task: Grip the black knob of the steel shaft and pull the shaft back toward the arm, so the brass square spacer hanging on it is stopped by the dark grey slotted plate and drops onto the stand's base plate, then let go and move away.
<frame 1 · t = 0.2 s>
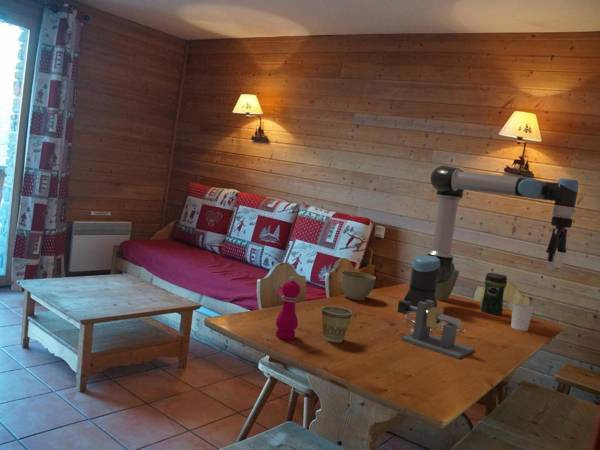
hand: (553, 268, 216), 28 cm above the table, tool pointing down, fingers open, 13 cm apart
plant pot: (439, 299, 265), on the table
coffee jar: (490, 312, 249), on the table
spacer: (433, 325, 186), point 6 cm above the table, touching shaft
white cup: (519, 329, 224), on the table
ceramic cup: (336, 339, 178), on the table
shaft stand: (430, 343, 186), on the table
pepper mill: (285, 336, 173), on the table
shaft: (429, 314, 187), point 10 cm above the table, slide at 0.0 cm, touching spacer
planter bowl: (355, 298, 243), on the table
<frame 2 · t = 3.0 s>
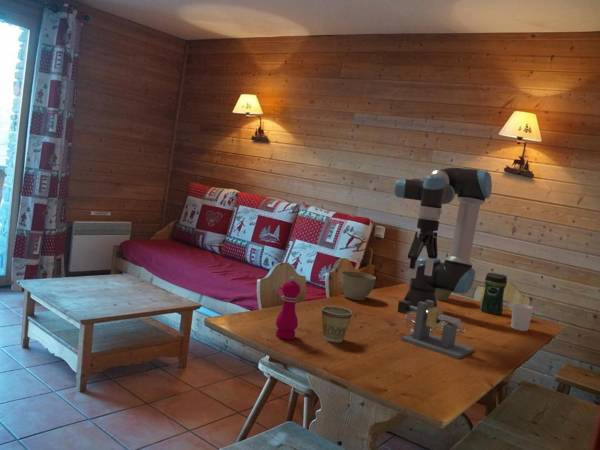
hand: (419, 276, 193), 22 cm above the table, tool pointing down, fingers open, 13 cm apart
nothing on the table moved.
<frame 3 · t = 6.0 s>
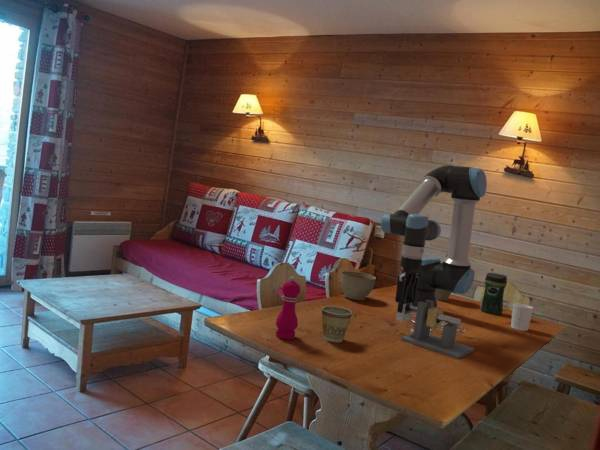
hand: (402, 319, 193), 5 cm above the table, tool pointing down, fingers closed on shaft, 4 cm apart
shaft: (429, 314, 187), point 10 cm above the table, slide at 0.0 cm, touching gripper, spacer
everything else where it was.
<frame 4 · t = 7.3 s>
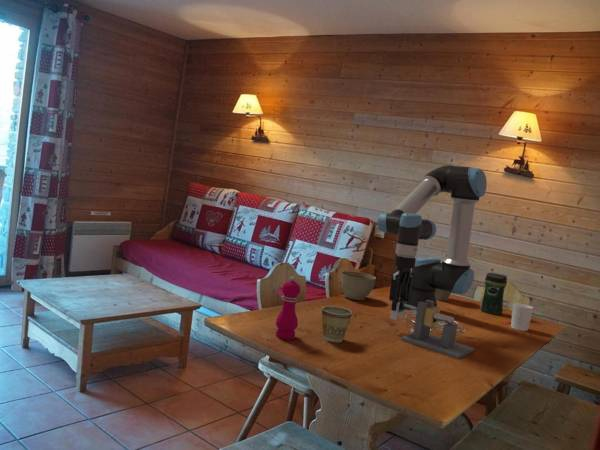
hand: (396, 318, 195), 5 cm above the table, tool pointing down, fingers closed on shaft, 4 cm apart
spacer: (430, 324, 187), point 7 cm above the table
shaft: (422, 312, 188), point 10 cm above the table, slide at 2.5 cm, touching gripper
everything else where it was.
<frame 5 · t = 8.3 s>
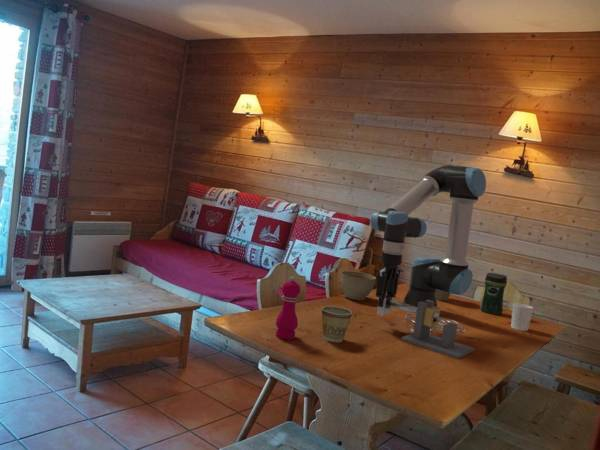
hand: (383, 314, 198), 5 cm above the table, tool pointing down, fingers closed on shaft, 4 cm apart
spacer: (430, 324, 187), point 7 cm above the table, touching shaft, shaft stand
shaft: (408, 308, 192), point 10 cm above the table, slide at 8.0 cm, touching gripper, spacer
everything else where it was.
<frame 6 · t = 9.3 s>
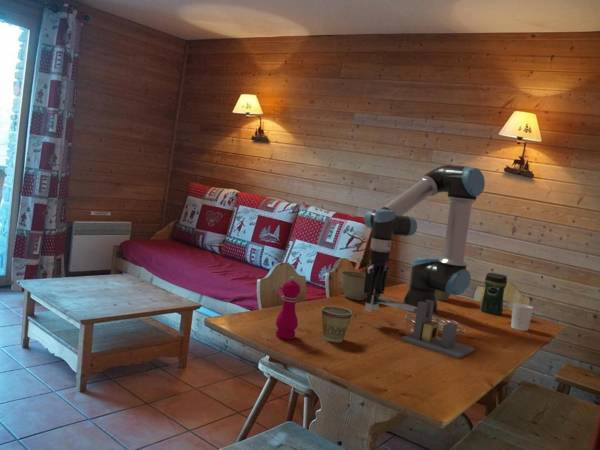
hand: (371, 310, 202), 5 cm above the table, tool pointing down, fingers closed on shaft, 4 cm apart
spacer: (429, 339, 187), point 1 cm above the table, touching shaft stand
shaft: (396, 304, 195), point 10 cm above the table, slide at 13.2 cm, touching gripper
everything else where it was.
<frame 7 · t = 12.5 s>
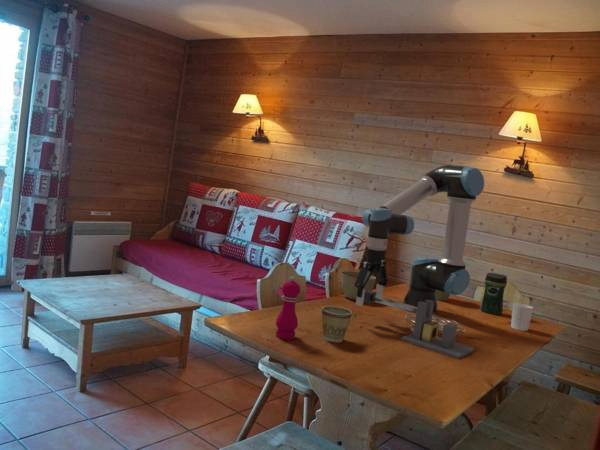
hand: (368, 303, 202), 7 cm above the table, tool pointing down, fingers open, 13 cm apart
shaft: (392, 303, 196), point 10 cm above the table, slide at 14.8 cm
everything else where it was.
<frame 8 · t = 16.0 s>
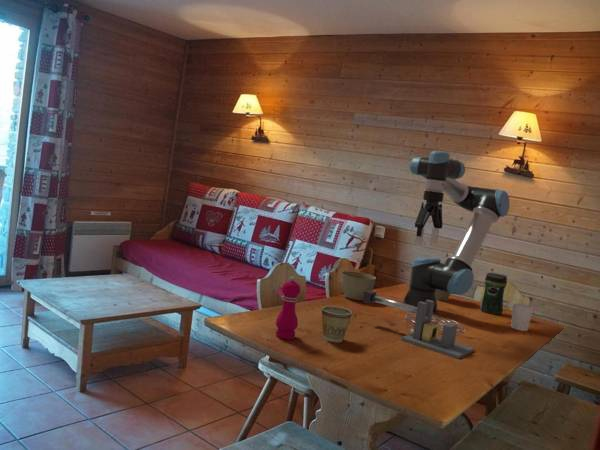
hand: (426, 244, 210), 32 cm above the table, tool pointing down, fingers open, 13 cm apart
nothing on the table moved.
at the end: shaft slide at 14.8 cm; spacer inside the target area on the shaft stand (1.6 cm from its centre), point 1.0 cm above the shaft stand's base; spacer touching shaft stand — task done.
